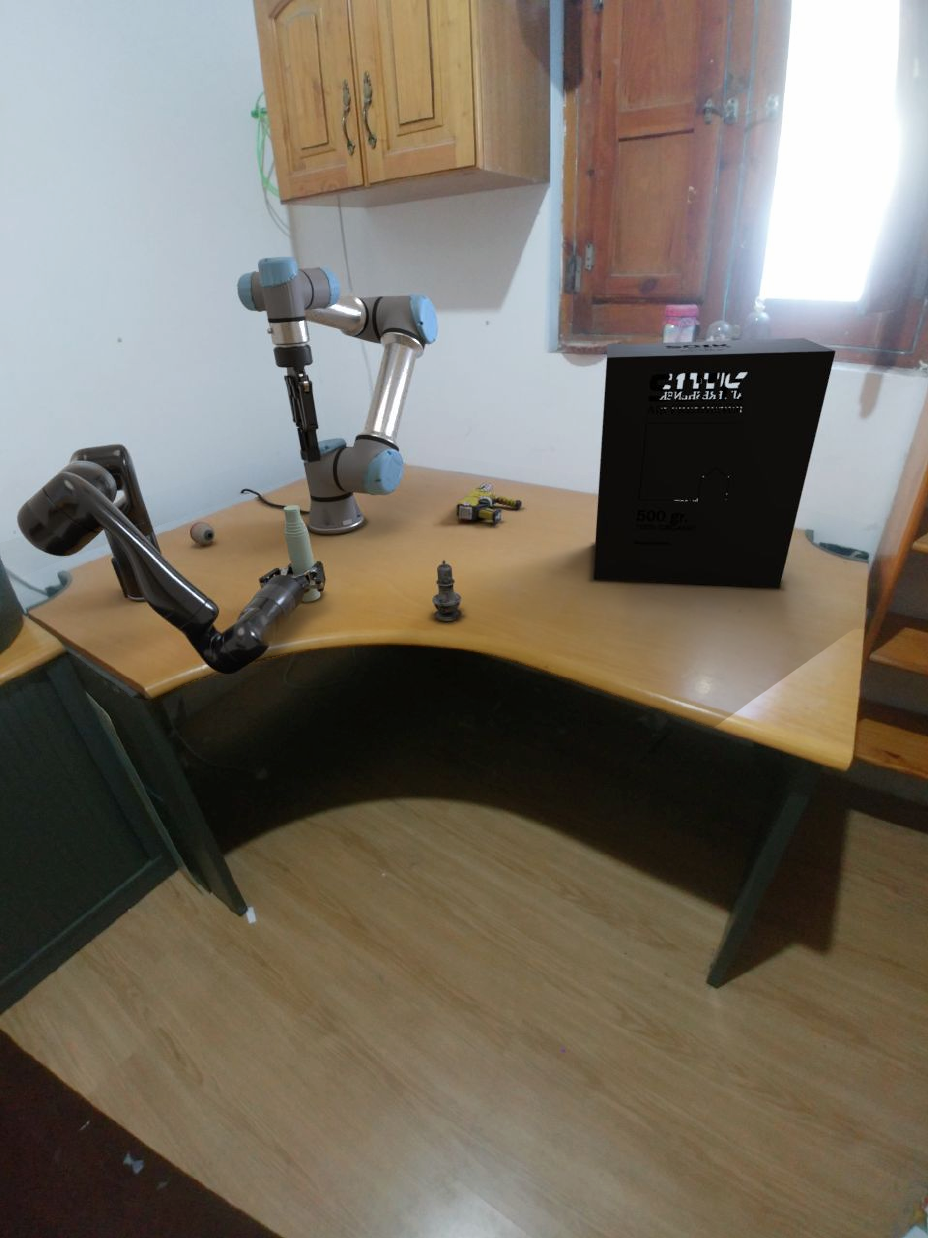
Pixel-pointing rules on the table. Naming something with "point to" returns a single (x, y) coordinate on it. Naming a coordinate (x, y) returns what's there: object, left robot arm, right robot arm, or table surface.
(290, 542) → the bottle
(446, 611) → the salt shaker
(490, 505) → the toy gun
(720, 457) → the cardboard box
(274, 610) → the left robot arm
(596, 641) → the table surface
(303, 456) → the cap
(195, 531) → the eyeball
